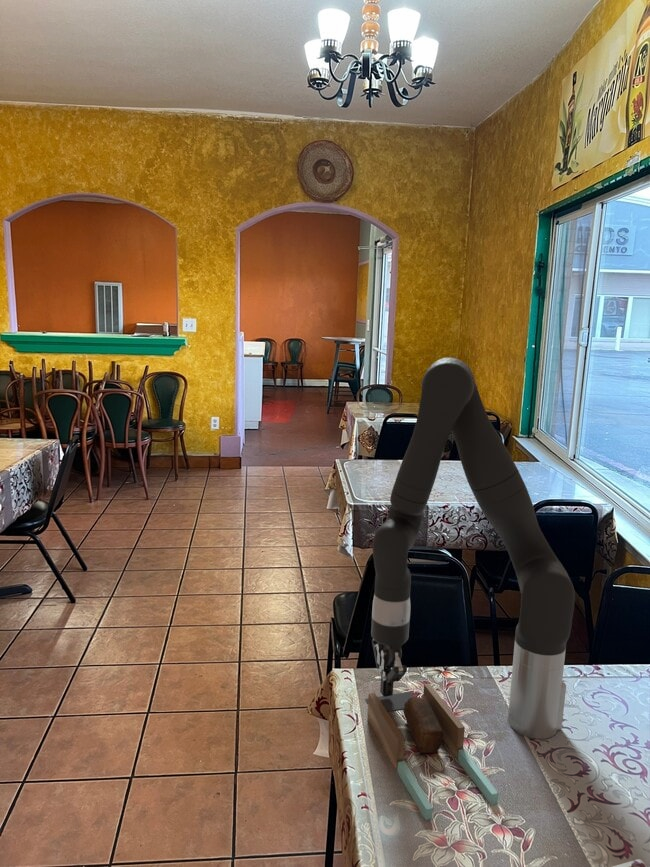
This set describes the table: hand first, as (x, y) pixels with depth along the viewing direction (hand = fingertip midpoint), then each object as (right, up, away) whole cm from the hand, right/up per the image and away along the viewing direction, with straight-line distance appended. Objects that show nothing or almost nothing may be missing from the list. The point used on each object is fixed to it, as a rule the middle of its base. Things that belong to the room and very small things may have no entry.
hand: (386, 693), depth 131 cm
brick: (+3, -4, -9) cm, 10 cm away
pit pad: (+1, -2, -1) cm, 2 cm away
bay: (+8, -6, -24) cm, 26 cm away
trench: (+4, -4, -11) cm, 13 cm away
